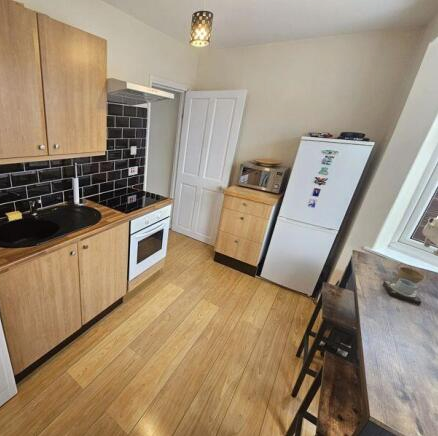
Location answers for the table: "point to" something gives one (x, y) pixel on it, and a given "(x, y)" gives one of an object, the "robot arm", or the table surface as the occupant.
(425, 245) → the robot arm
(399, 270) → the flower pot
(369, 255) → the table surface
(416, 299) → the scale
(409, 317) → the table surface
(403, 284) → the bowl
